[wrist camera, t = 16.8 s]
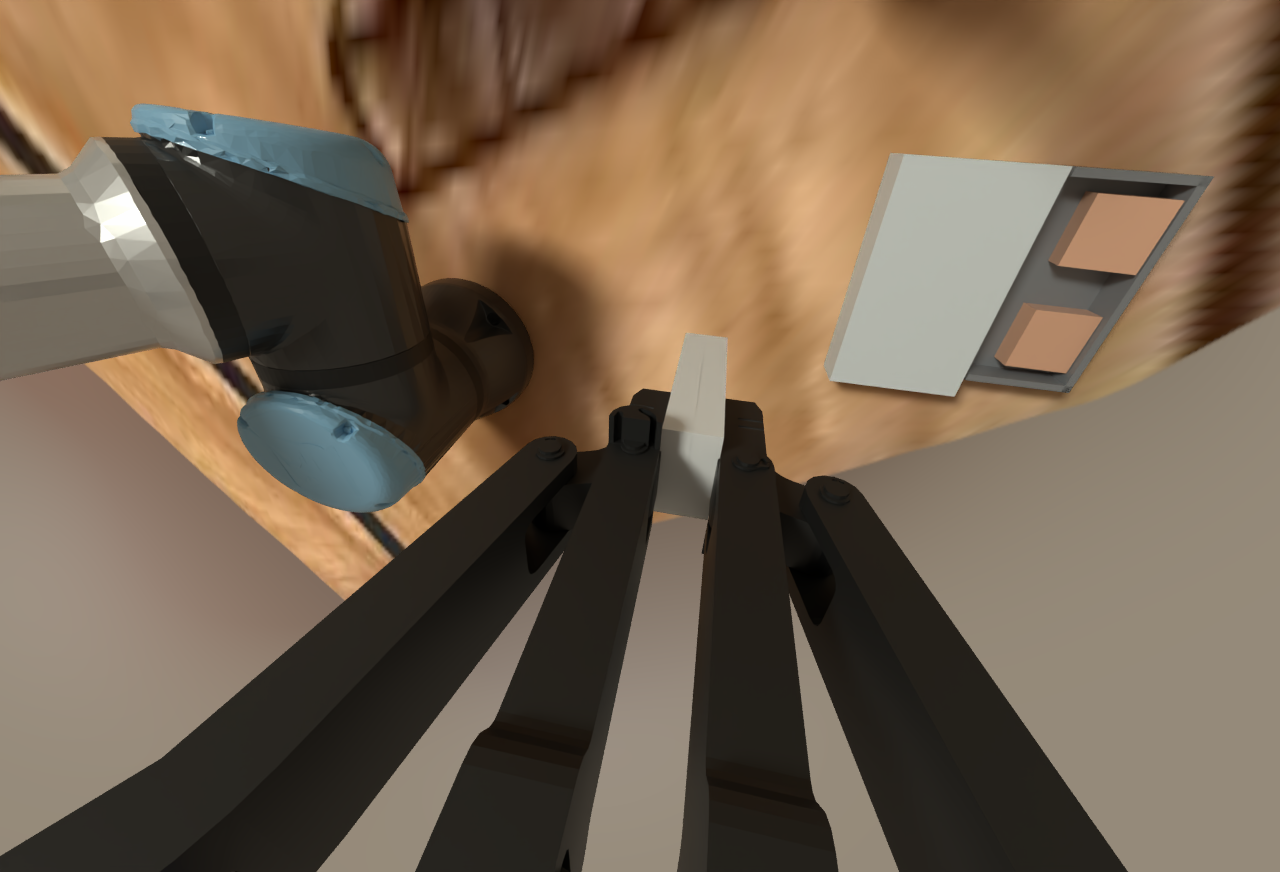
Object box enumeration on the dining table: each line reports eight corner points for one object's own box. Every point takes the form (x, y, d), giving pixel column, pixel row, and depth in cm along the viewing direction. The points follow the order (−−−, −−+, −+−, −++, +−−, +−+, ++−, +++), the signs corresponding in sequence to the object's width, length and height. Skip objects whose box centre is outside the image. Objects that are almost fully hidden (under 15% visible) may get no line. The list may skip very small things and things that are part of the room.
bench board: (823, 365, 45) (829, 380, 42) (890, 152, 35) (904, 154, 32) (940, 379, 44) (954, 396, 41) (1043, 164, 34) (1072, 166, 31)
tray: (952, 366, 43) (965, 380, 40) (1051, 164, 34) (1076, 166, 31) (1049, 377, 42) (1068, 392, 39) (1178, 173, 33) (1214, 176, 30)
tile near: (1135, 275, 34) (1122, 269, 35) (1184, 200, 31) (1167, 197, 33) (1057, 265, 35) (1048, 260, 37) (1098, 193, 32) (1085, 191, 34)
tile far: (1066, 373, 39) (1052, 363, 41) (1103, 317, 36) (1087, 309, 38) (1004, 365, 40) (994, 356, 41) (1036, 309, 37) (1023, 302, 39)
